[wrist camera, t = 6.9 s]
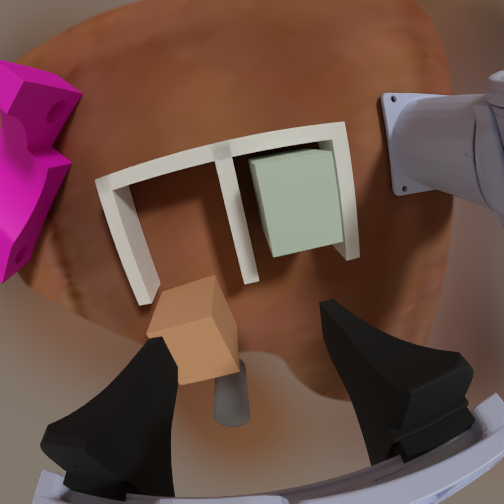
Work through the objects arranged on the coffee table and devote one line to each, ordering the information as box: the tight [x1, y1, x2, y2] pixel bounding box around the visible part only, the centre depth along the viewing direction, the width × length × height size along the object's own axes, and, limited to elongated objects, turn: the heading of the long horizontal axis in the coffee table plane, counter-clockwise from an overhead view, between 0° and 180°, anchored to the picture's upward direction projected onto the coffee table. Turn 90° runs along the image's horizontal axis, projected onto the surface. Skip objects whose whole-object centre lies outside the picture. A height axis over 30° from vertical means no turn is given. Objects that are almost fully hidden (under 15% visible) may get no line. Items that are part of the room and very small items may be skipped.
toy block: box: [0, 60, 83, 283], centre depth 14 cm, size 15×6×8 cm, turn 140°
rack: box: [95, 122, 360, 306], centre depth 18 cm, size 16×9×3 cm, turn 102°
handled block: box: [146, 275, 250, 427], centre depth 21 cm, size 4×11×6 cm, turn 18°
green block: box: [248, 148, 343, 257], centre depth 17 cm, size 4×5×6 cm
